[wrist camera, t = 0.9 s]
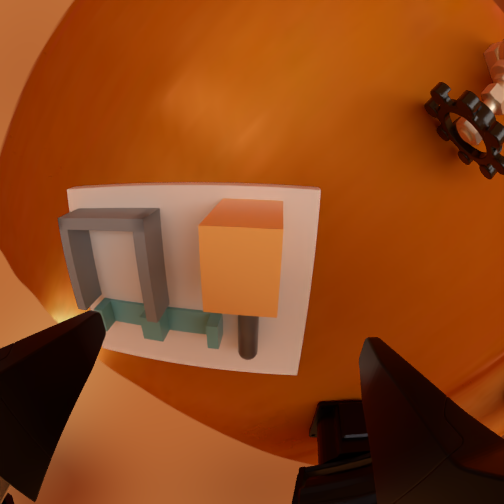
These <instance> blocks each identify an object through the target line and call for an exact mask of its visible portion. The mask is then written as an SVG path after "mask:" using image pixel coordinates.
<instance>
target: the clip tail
mask: <svg viewBox="0 0 504 504" xmlns="http://www.w3.org/2000/svg"><path fill="white" fill-rule="evenodd" d="M94 311H97V312H99V313H100V314H101V316H102V319H103V322H104V326H105V329H106V331H108V330H109V329H110V328H111V326H112V325H113V324H114V323H115V321H119V322H124V323H130V324H136V325H141V327H142V331H143V336H144V339H150V340H153V335H152V330H151V326H150V322H148V321H147V318H146V313H145V308H144V303H137V302H130V301H123V300H116V299H110V298H104V299H103V300H102V301H101V302H100V303H99V304H98V305H97V306H96V307H95V308H94Z"/></svg>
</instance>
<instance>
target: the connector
mask: <svg viewBox="0 0 504 504" xmlns="http://www.w3.org/2000/svg"><path fill="white" fill-rule="evenodd" d="M198 233H199V254H200V271H201V287H202V301H203V312H211V313H221V314H232V315H238V353H239V355H240V357H241V358H243V359H245V360H251V359H253V358H254V357H255V356H256V355H257V351H258V329H259V317H273V318H277V313H278V300H279V287H280V274H281V260H282V245H283V201H277V200H256V199H230V198H223V199H222V200H221V201H220V202H219V203H218V204H217V205H216V206H215V207H214V209H213V210H212V211H211V212H210V213H209V214H208V215H207V216H206V217H205V218H204V220H203V221H202V222H201V223H200V224H199V225H198Z"/></svg>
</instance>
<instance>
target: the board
mask: <svg viewBox="0 0 504 504" xmlns="http://www.w3.org/2000/svg"><path fill="white" fill-rule="evenodd" d="M320 194H321V190H320V188H319V187H309V186H294V185H276V184H253V183H215V182H167V183H130V184H109V185H92V186H78V187H72V188H70V189H67V195H68V204H69V211H70V212H72V211H74V210H76V209H78V208H160V219H161V232H162V243H163V253H164V263H165V271H166V280H167V288H168V295H169V303H170V304H169V305H168V307H176V308H185V309H194V310H203V301H202V287H201V271H200V254H199V233H198V225H199V224H200V223H201V222H202V221H203V220H204V218H205V217H206V216H207V215H208V214H209V213H210V212H211V211H212V210H213V209H214V207H215V206H216V205H217V204H218V203H219V202H220V201H221V200H222V199H223V198H230V199H256V200H277V201H283V245H282V260H281V274H280V287H279V300H278V313H277V318H273V317H259V329H258V351H257V355H256V356H255V357H254V358H253V359H251V360H245V359H243V358H241V357H240V355H239V353H238V315H232V314H222V316H223V336H222V340H221V343H220V347H219V349H212V348H208V346H207V335H206V334H198V333H190V332H182V331H175V330H169V332H168V334H167V336H166V338H165V340H164V342H162V341H156V340H150V339H144V336H143V331H142V327H141V325H136V324H130V323H124V322H119V321H115V323H114V324H113V325H112V326H111V328H110V329H109V330H108V331H106V336H105V339H104V341H103V344H102V347H103V348H105V349H109V350H113V351H117V352H122V353H126V354H131V355H135V356H140V357H145V358H150V359H156V360H161V361H167V362H173V363H179V364H185V365H192V366H199V367H206V368H214V369H222V370H231V371H241V372H253V373H266V374H282V375H297V372H298V366H299V361H300V355H301V349H302V343H303V337H304V330H305V324H306V317H307V310H308V303H309V296H310V289H311V281H312V273H313V265H314V256H315V247H316V238H317V228H318V218H319V206H320ZM89 233H90V239H91V245H92V250H93V256H94V261H95V266H96V271H97V275H98V280H99V284H100V288H101V293H102V295H101V296H100V297H99V298H98V299H97V300H96V301H95V302H94V303H93V304H92V305H91V306H90V309H91V310H92V311H94V308H95V307H96V306H97V305H98V304H99V303H100V302H101V301H102V300H103V299H104V298H110V299H116V300H123V301H130V302H137V303H143V298H142V292H141V287H140V281H139V275H138V268H137V262H136V255H135V247H134V240H133V232H125V231H96V230H89Z"/></svg>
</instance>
